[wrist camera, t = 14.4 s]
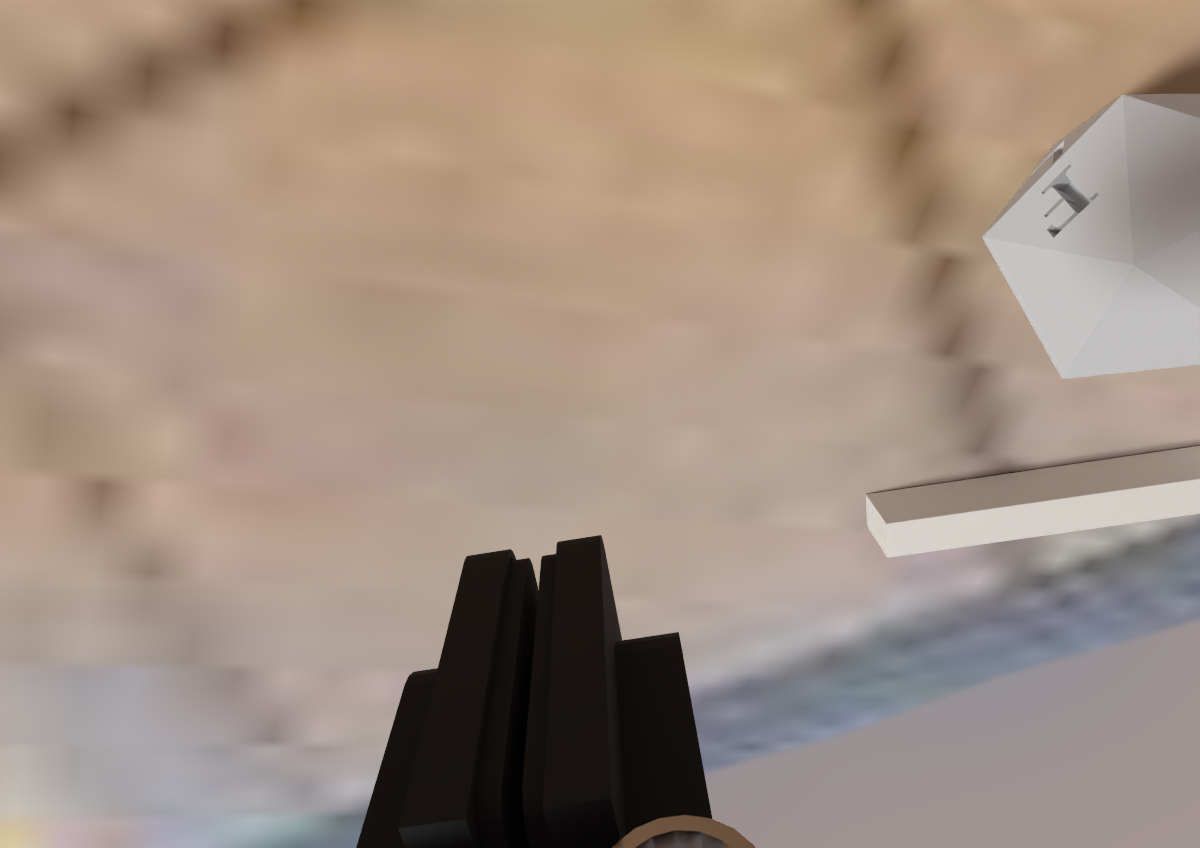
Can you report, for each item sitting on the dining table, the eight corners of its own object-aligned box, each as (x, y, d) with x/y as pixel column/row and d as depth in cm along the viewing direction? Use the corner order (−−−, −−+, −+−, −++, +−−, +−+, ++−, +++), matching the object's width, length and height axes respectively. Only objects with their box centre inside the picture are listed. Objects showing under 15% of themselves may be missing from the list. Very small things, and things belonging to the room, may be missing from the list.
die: (1170, 36, 28) (1138, 15, 20) (1404, 209, 25) (1464, 257, 18) (980, 230, 33) (899, 270, 25) (1160, 386, 31) (1129, 480, 23)
